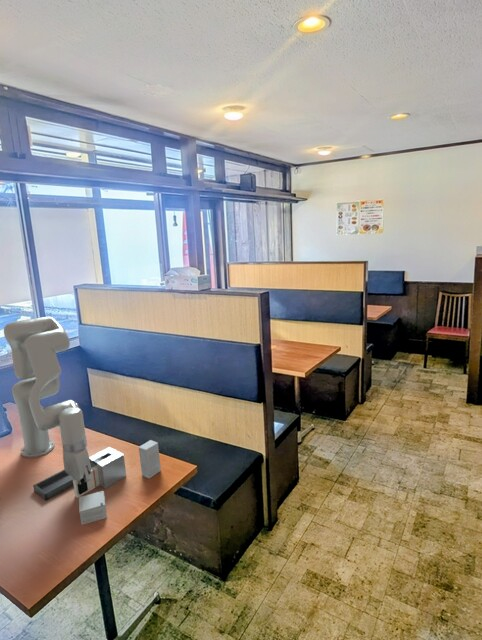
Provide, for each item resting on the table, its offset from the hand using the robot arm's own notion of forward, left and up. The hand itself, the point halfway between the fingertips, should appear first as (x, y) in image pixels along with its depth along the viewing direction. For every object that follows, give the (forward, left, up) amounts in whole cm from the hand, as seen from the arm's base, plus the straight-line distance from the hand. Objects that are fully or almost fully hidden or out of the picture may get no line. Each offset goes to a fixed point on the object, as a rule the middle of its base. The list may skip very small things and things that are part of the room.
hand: (81, 490), depth 137 cm
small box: (+12, -3, -2) cm, 13 cm away
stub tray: (-11, -1, -1) cm, 11 cm away
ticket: (0, +4, -1) cm, 4 cm away
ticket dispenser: (0, +11, -1) cm, 11 cm away
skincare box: (+11, +22, -1) cm, 24 cm away
